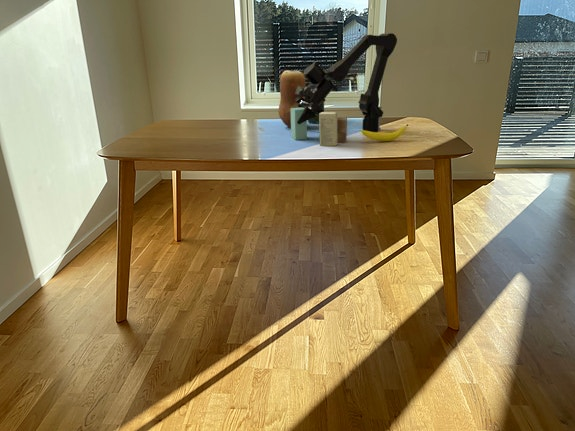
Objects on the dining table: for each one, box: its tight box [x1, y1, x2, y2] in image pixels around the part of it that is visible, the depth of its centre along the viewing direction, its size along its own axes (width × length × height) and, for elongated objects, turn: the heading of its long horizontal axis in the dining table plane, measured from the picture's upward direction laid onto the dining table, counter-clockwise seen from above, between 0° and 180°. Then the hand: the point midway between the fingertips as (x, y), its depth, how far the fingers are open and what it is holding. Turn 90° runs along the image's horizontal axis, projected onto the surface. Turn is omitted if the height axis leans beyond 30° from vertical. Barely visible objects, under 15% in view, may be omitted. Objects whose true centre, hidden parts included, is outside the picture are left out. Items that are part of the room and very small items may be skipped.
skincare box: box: [318, 111, 338, 147], centre depth 160 cm, size 6×4×12 cm
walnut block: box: [337, 117, 348, 144], centre depth 164 cm, size 4×4×9 cm
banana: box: [359, 124, 409, 142], centre depth 163 cm, size 3×19×6 cm, turn 96°
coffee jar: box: [307, 83, 325, 124], centre depth 201 cm, size 10×8×19 cm
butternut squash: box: [278, 69, 306, 129], centre depth 190 cm, size 14×13×25 cm
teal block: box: [290, 107, 308, 141], centre depth 171 cm, size 5×5×12 cm
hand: (295, 122), depth 171 cm, fingers closed on teal block, 5 cm apart
